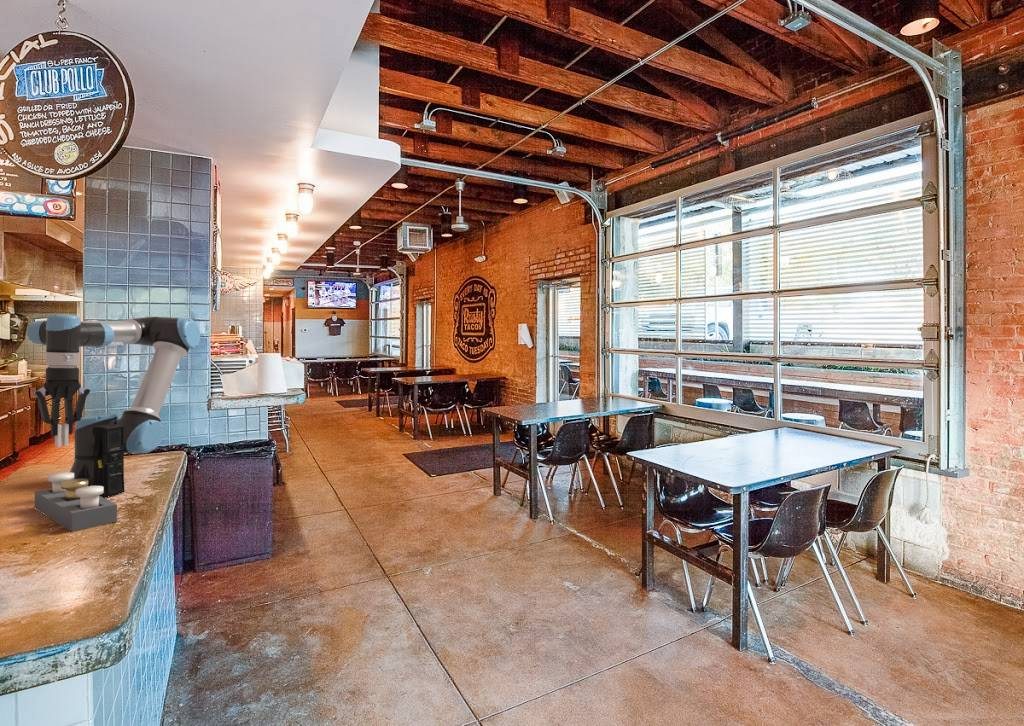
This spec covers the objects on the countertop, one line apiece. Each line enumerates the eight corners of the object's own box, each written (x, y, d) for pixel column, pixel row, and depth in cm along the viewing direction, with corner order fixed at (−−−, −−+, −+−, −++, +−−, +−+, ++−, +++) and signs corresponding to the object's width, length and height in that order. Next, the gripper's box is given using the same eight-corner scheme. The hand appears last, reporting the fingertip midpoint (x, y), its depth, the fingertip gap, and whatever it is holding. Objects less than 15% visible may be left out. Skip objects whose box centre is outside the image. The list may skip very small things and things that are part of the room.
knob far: (98, 506, 149) (98, 484, 148) (107, 510, 145) (107, 488, 145) (71, 511, 144) (72, 488, 143) (80, 516, 140) (80, 493, 140)
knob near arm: (69, 491, 161) (70, 471, 161) (77, 495, 158) (77, 474, 157) (44, 495, 156) (44, 474, 156) (51, 499, 153) (51, 478, 152)
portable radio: (103, 499, 165) (104, 420, 165) (87, 497, 167) (88, 419, 166) (126, 492, 173) (127, 417, 172) (111, 490, 174) (112, 416, 173)
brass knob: (83, 498, 155) (83, 477, 155) (91, 502, 151) (91, 481, 151) (57, 503, 150) (57, 481, 150) (65, 507, 146) (65, 485, 146)
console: (76, 500, 163) (76, 484, 163) (116, 522, 147) (117, 504, 146) (34, 508, 155) (34, 491, 155) (71, 531, 138) (72, 513, 138)
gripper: (35, 367, 147) (34, 451, 148) (96, 367, 159) (95, 444, 160) (27, 366, 152) (26, 447, 152) (86, 365, 163) (85, 441, 164)
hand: (61, 445), depth 156 cm, fingers closed
